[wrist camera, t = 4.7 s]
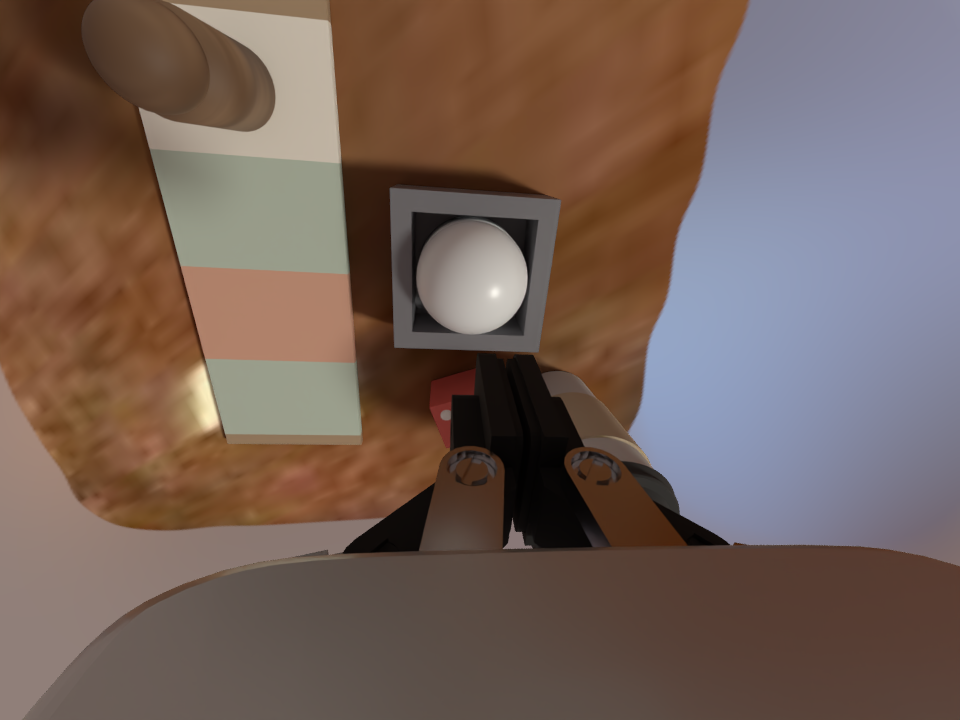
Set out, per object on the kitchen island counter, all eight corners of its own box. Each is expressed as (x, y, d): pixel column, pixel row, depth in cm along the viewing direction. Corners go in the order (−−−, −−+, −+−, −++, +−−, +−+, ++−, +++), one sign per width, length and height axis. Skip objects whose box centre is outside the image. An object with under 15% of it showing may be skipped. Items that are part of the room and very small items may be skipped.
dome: (419, 211, 26) (411, 226, 20) (523, 217, 27) (546, 234, 21) (419, 310, 29) (412, 350, 23) (512, 314, 30) (529, 354, 24)
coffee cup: (621, 379, 34) (734, 519, 21) (570, 457, 38) (639, 619, 24) (529, 344, 32) (588, 475, 19) (484, 430, 35) (507, 592, 22)
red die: (431, 381, 33) (429, 408, 29) (477, 367, 33) (481, 393, 29) (446, 418, 35) (446, 449, 31) (490, 406, 34) (495, 435, 31)
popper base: (397, 184, 26) (389, 187, 22) (545, 194, 27) (561, 199, 23) (400, 325, 30) (394, 347, 27) (528, 330, 31) (538, 352, 28)
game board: (111, -25, 21) (102, -30, 20) (329, 0, 22) (326, -4, 21) (231, 439, 34) (227, 443, 33) (362, 440, 35) (361, 444, 34)
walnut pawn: (183, 34, 21) (19, -45, 13) (268, 43, 22) (161, -28, 14) (203, 128, 23) (71, 110, 15) (280, 134, 24) (193, 120, 16)
